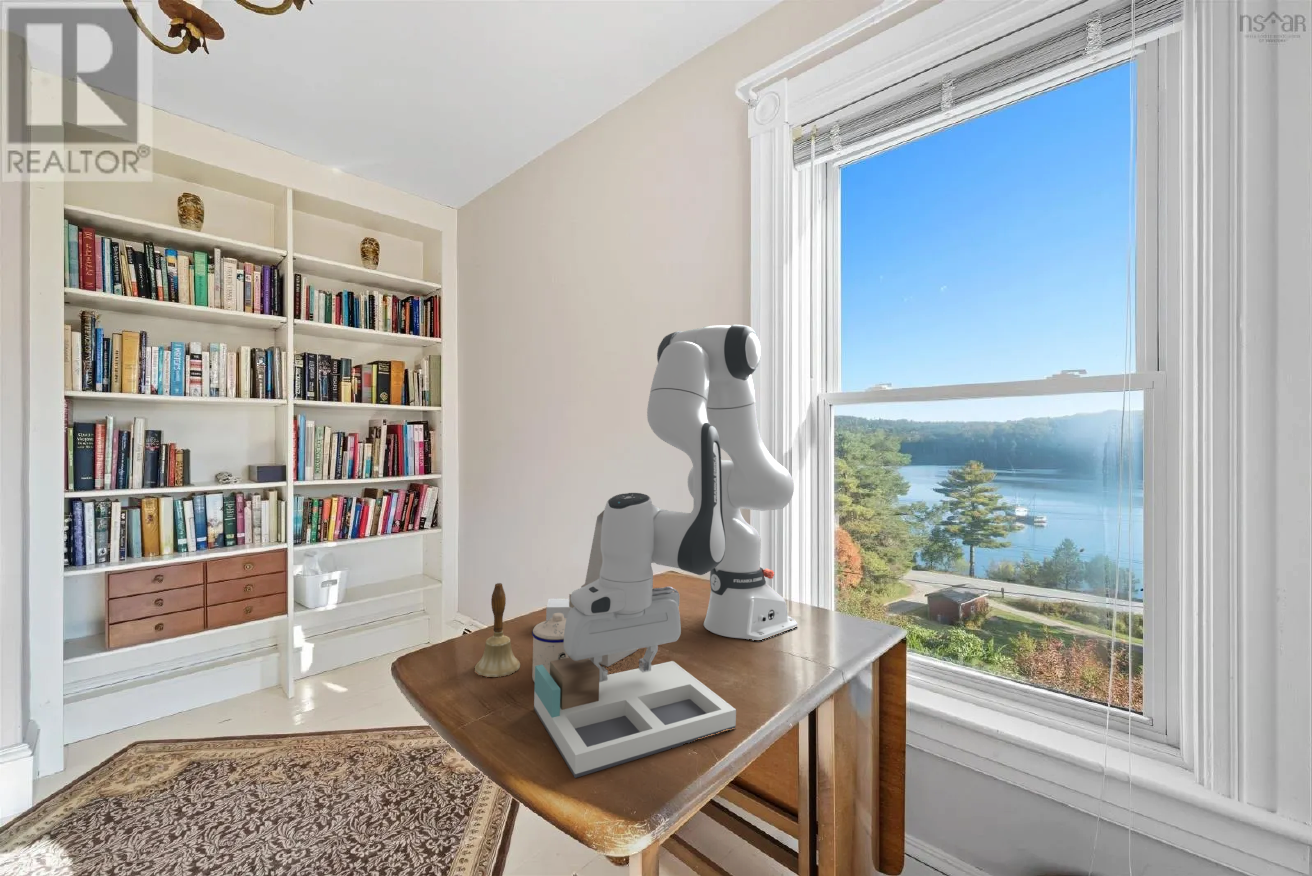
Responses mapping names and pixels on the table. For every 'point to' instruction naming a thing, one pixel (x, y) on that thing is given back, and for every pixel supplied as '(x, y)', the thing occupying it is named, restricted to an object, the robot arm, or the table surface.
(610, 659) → the miniature monument
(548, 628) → the teacup with lid
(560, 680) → the walnut block
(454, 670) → the table surface
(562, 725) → the board
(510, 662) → the hand bell
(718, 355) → the robot arm
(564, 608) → the white cube
